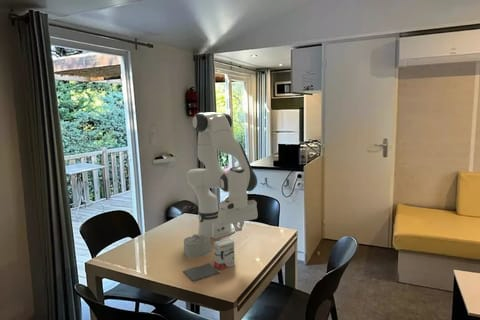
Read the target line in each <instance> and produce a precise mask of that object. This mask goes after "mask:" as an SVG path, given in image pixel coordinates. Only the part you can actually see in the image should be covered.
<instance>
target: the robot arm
mask: <svg viewBox="0 0 480 320" xmlns="http://www.w3.org/2000/svg"><path fill="white" fill-rule="evenodd" d="M232 125H233V120H232V117H231V115H230V114H227V113H225V112H224V113H220V112H214V111H213V112H197V113H195V114H194V115H193V118H192V127H193V129H194V131H196V132H197V133H198V135H197V148H196V149H197V154H196V155H197V159H198V160H199V161H200V162H201V163H203V165H204V166H205V168H192V169H190V170H188V172H187V174H186V179H185V180H186V182H187V184H188V185H189V186H190V187H191V188H192V189H193V191H194V192H195V195H196V197H197V201H198V213H197V216H198V217H197V218H198V229H197V233H196V234H197V235H199V236H200V235H204V236H206V237H209V238H210V239H213V240H215V239H221V238H222V237H225V236H229V235H231V234H234V233H236V232H237V233H238V232H242V231H243V226H244V224H245V222H247V221H251V220H256V219H258V216H259V215H258V214H259V213H258V208H257V205H258V203H257V201H256V200H255V199H249V200H248V192H252V191H253V190H255V189H256V187H257V186H258V178H257V175H256V174H255V172H254V169H253V168H252V165H251V164H250V161H249V158H248V156H247V154H246V152H245V149H244V148H243V145H242V144H241V143H240V142H239V141H237V140H236V138H235V136H234V135H233V132H232V127H233V126H232ZM218 151H219V152H220V153H223V154H227V155H229V156H232V157H234V158H235V159H236V161H237V162H238V164H239V166H240V167H239V166H232V167H230V168H229V169H228V171H225V170H224V169H223V168H222V166H221V165H220V163H219V160H218ZM210 189H220V190H222V191H223V192H224V193H225V192H226V193H228V198H226V199H224V200H222V201H220V202H219V201H218V197H217V195H216V194H214V193H213V192H212V191H211V190H210ZM218 203H219V204H218ZM238 223H239V225H238ZM231 225H232V226H231Z"/></svg>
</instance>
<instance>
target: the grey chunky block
mask: <svg viewBox="0 0 480 320" xmlns="http://www.w3.org/2000/svg"><path fill="white" fill-rule="evenodd" d="M183 246H184V247H183V248H184V255H185V256H186V258H188V259H193V258H201V257H205V256H207V255H209V254H210V253H211V252H212V251H211V238H209V237H206V236H204V235H200V236H199V235H197V233H196V234H193V235H191V236H188V237H186V238H184V240H183Z"/></svg>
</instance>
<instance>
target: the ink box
mask: <svg viewBox="0 0 480 320" xmlns="http://www.w3.org/2000/svg"><path fill="white" fill-rule="evenodd" d="M213 253H214V254H213V259H214V261H213V262H214V268H215V269H217V270H218V271H220V270H224V269H227V268H230V267H232V266H233V267H234V266H235V265H236V264H235V259H236V257H235V241H234V240H233V239H231V238H224V239H219V240H217V241H214V242H213Z"/></svg>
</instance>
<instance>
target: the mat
mask: <svg viewBox="0 0 480 320" xmlns="http://www.w3.org/2000/svg"><path fill="white" fill-rule="evenodd" d="M182 272H183V274H185V275H186V276H187V277H188V278H189V279H190V280H191V281H192V282H196V281H200V280H203V279H207V278H210V277H213V276H215V275H219V274H221V272H220V270H219V269H218V268H216V267H215V266H213V265H212V264H210V263H205V264H201V265H197V266H195V267H191V268H188V269H183V270H182Z"/></svg>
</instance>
